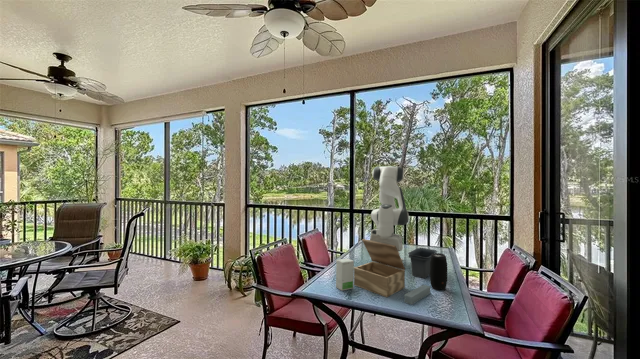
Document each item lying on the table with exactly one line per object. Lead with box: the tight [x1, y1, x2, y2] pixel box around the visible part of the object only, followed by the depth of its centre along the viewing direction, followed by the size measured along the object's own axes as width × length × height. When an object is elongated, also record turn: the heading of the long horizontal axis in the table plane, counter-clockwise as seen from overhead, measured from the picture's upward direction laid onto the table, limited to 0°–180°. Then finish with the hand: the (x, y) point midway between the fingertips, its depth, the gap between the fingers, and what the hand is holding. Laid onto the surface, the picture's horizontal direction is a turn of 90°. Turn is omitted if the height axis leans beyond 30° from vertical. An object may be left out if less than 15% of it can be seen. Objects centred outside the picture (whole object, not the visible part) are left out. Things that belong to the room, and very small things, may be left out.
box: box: [353, 261, 406, 298], centre depth 154 cm, size 18×22×10 cm
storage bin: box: [408, 247, 439, 279], centre depth 176 cm, size 21×16×14 cm
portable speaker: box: [429, 252, 448, 291], centre depth 152 cm, size 8×9×19 cm
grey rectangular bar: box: [403, 284, 431, 306], centre depth 140 cm, size 20×4×4 cm, turn 133°
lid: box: [361, 238, 406, 270], centre depth 157 cm, size 18×22×1 cm
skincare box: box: [335, 258, 355, 291], centre depth 152 cm, size 8×7×16 cm
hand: (385, 255), depth 158 cm, fingers closed, pressing on lid
